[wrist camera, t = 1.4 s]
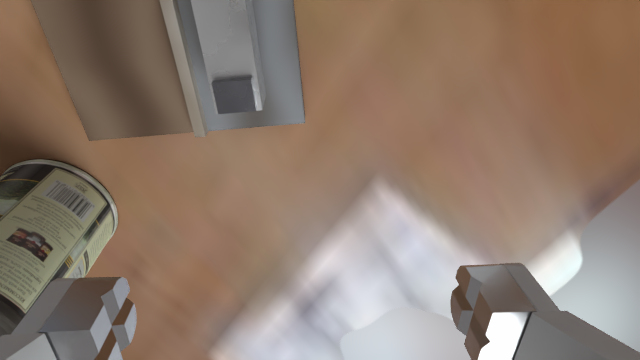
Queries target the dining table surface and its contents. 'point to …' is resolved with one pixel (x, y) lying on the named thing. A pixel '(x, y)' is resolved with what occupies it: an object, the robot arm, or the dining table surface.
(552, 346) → the robot arm
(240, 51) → the latch bar
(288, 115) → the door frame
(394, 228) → the dining table surface
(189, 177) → the dining table surface
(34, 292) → the coffee can
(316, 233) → the dining table surface
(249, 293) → the dining table surface
